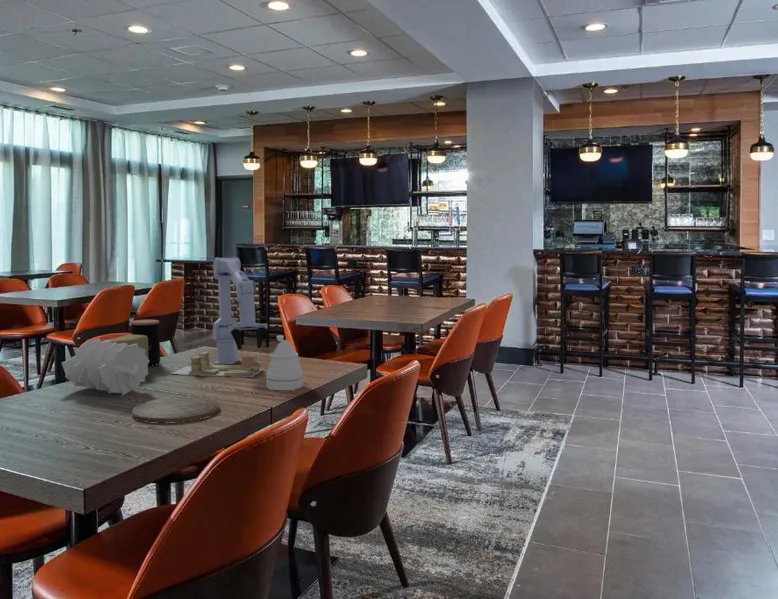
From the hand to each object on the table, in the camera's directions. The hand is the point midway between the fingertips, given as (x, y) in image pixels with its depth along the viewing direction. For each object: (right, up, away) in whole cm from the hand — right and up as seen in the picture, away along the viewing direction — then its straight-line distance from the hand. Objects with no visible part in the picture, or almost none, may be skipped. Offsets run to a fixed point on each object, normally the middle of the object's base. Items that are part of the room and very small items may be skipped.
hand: (249, 348), depth 246 cm
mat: (-14, -10, +8) cm, 19 cm away
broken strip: (-11, -10, +4) cm, 16 cm away
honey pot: (+16, -13, -14) cm, 25 cm away
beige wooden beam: (-11, -9, +11) cm, 18 cm away
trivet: (-12, -16, -48) cm, 52 cm away
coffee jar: (-47, -8, +21) cm, 52 cm away
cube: (-2, -8, +10) cm, 13 cm away
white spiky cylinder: (-43, -13, -23) cm, 51 cm away
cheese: (-47, -11, -3) cm, 49 cm away
